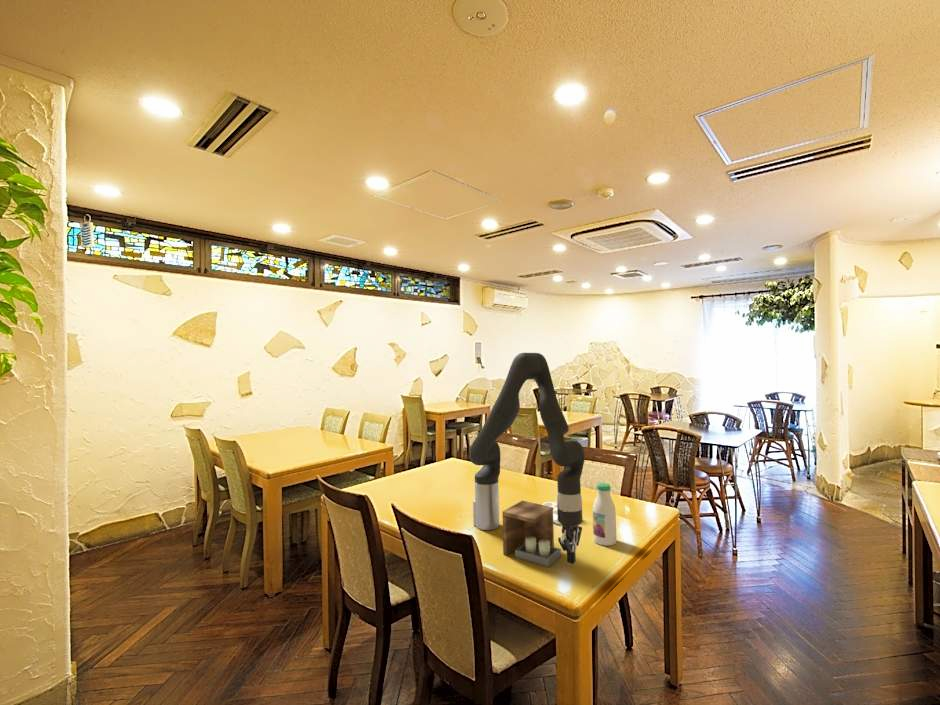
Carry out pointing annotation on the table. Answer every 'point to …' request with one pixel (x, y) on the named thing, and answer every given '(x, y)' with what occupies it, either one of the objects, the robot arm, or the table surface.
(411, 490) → the table surface
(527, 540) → the cream cylinder
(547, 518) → the brown wooden cube
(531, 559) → the tray
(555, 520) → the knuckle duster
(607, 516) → the milk bottle
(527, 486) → the table surface
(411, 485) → the table surface
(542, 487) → the table surface
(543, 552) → the cream piece
